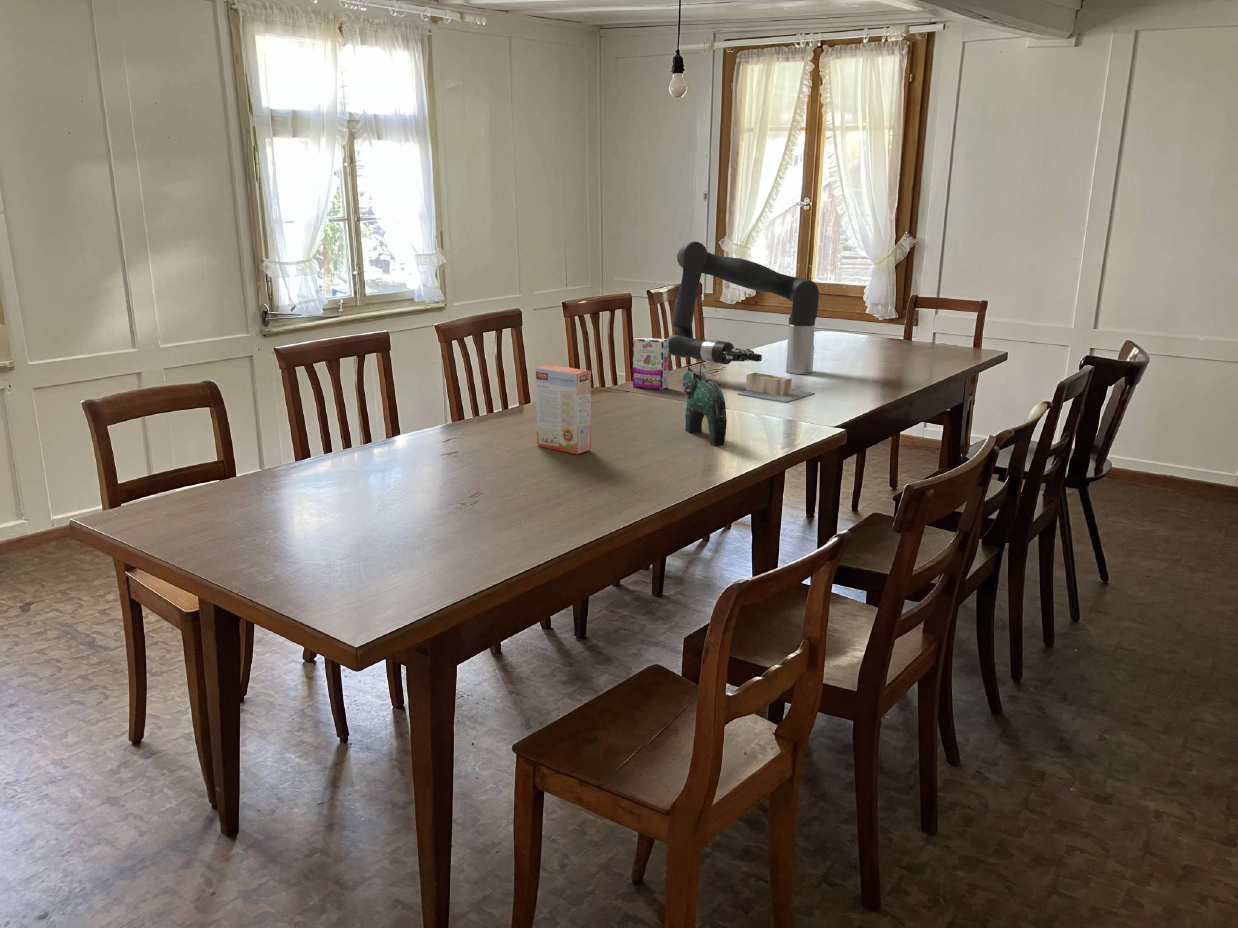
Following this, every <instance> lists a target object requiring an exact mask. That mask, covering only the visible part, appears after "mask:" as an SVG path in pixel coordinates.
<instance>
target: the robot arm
mask: <svg viewBox="0 0 1238 928" xmlns="http://www.w3.org/2000/svg"><path fill="white" fill-rule="evenodd" d="M676 254H677V255H676V261H677V264H679V266H680V267H681V268H682V275H681V276H682V277H681V282H680V286H679V289H678V293H677V296H676V299H675V303H674V309H673V316H672V323H671V324H672V328H674V329H675V330H676V334H671V335H670V336H668V337H667V338H666V339H669V355H670V356H671V355H672V356H674V357H679V358H682V359H683V358H687V357H688V358H691V359H694V360H699V361H706V362H709V363H714V364H719V365H730V364H731V363H732V362H745V361H746V362H749V361H752V362H762V360H763V355H762V354H759V353H755V351H753V350H752V349H749V348H746V349H744V348H743V349H742V348H741V347H734V344H733V343H731V342H730V341H722V340H716V339H703V338H694V332H693V323H694V316H695V315H694V314H695V309H696V302H697V296H698V290H699V286H700V285H699V284H700V281H701V277H702V274H705V275H709V276H711V277H715V278H718V279H720V280H723V281H725V282H727V283H730V284H733V285H736V286H739V287H742V288H745V289H749V290H752V291H757V292H763V293H771V294H775V295H777V296H780V297H782V298H784V299H787V300H789V301H791V302H792V304H791V305H792V306H791V313H790V315H789V317H788V327H787V328H788V332H787V348H786V364H785V372H786V373H789V374H796V375H806V374H807V375H808V374H812V372H813V370H814V369H813V368H814V354H815V344H814V342H815V327H816V326H815V325H816V319H817V317H818V312H819V311H818V310H819V301H820V299H819V298H820V291H819V287H818V284H816V282H814V281H812V280H811V279H807V278H804V277H797V276H791V275H787V274H783V273H780V272H777V271H775V270H774V269H771V268H770V267H767V266H764V265H763V264H760V263H757V262H754V261H751V260H748V259H745V258H738V257H731V256H723V255H717V254H714V253H712V252H708V250H707V248H706V246H705V245H704V244H703V243H701V242H699V241H696V240H695V241H690V242H688V243H686V244H684V245H683V246H682V247H681V248H680V249H679V250H678V252H677V253H676Z"/></svg>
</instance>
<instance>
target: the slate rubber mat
mask: <svg viewBox="0 0 1238 928" xmlns="http://www.w3.org/2000/svg"><path fill="white" fill-rule="evenodd" d="M812 395H816V392H814V391H813V392H812V391H807V390H800V389H793V388H791V394H788V395H785V396H779V395H774V394H768V393H762V392H756V391H750V390H745V391H741V392H738V393H737V396H745V397H749V398H756V399H761V400H767V401H771V402H777V403H778V402H779V403H783V404H787V403H790V402H793V401H796V400H799V399H803V398H805V397H809V396H812Z"/></svg>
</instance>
